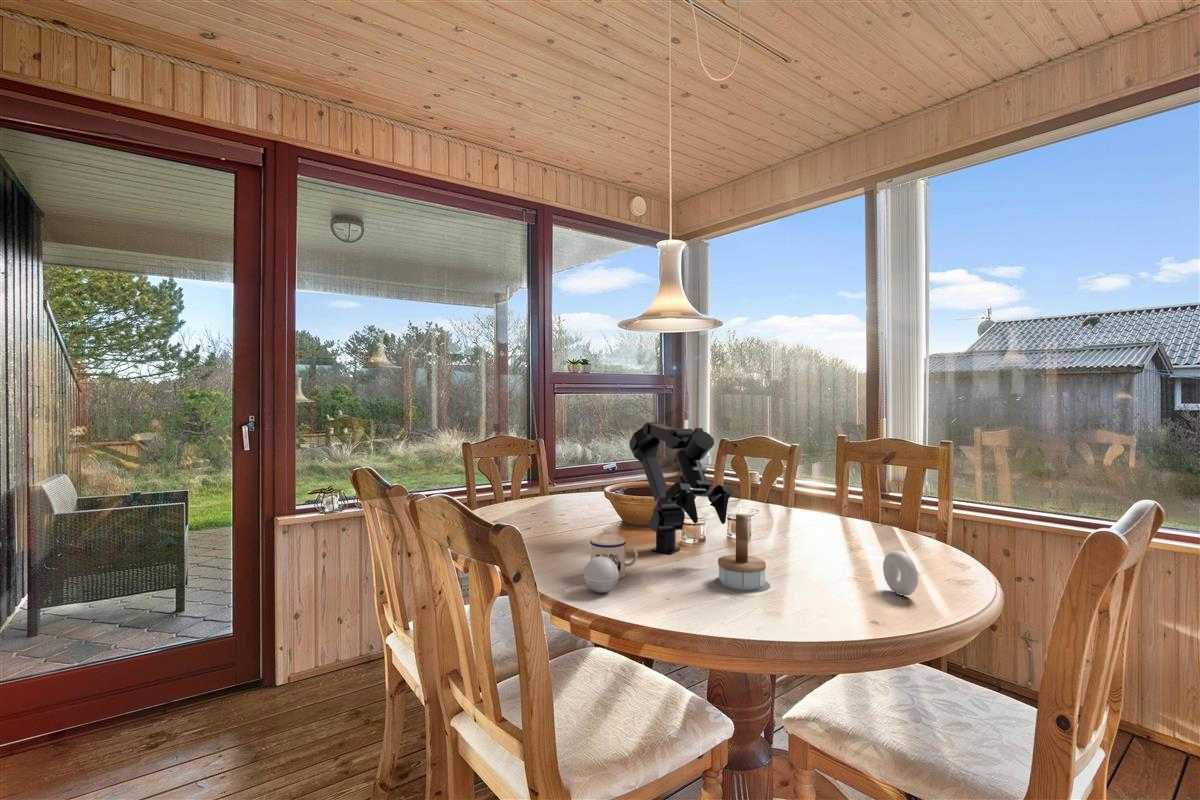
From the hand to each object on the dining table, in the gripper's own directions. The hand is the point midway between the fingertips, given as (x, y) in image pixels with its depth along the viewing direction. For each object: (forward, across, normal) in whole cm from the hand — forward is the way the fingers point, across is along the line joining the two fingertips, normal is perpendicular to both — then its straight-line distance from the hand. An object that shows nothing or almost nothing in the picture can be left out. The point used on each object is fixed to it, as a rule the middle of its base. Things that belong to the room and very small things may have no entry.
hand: (710, 523), depth 142 cm
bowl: (+16, -3, 0) cm, 16 cm away
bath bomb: (+12, +28, -12) cm, 33 cm away
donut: (+27, -29, +20) cm, 45 cm away
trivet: (+16, -3, 0) cm, 16 cm away
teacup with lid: (+6, +20, -19) cm, 28 cm away
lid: (+12, -2, +3) cm, 13 cm away
